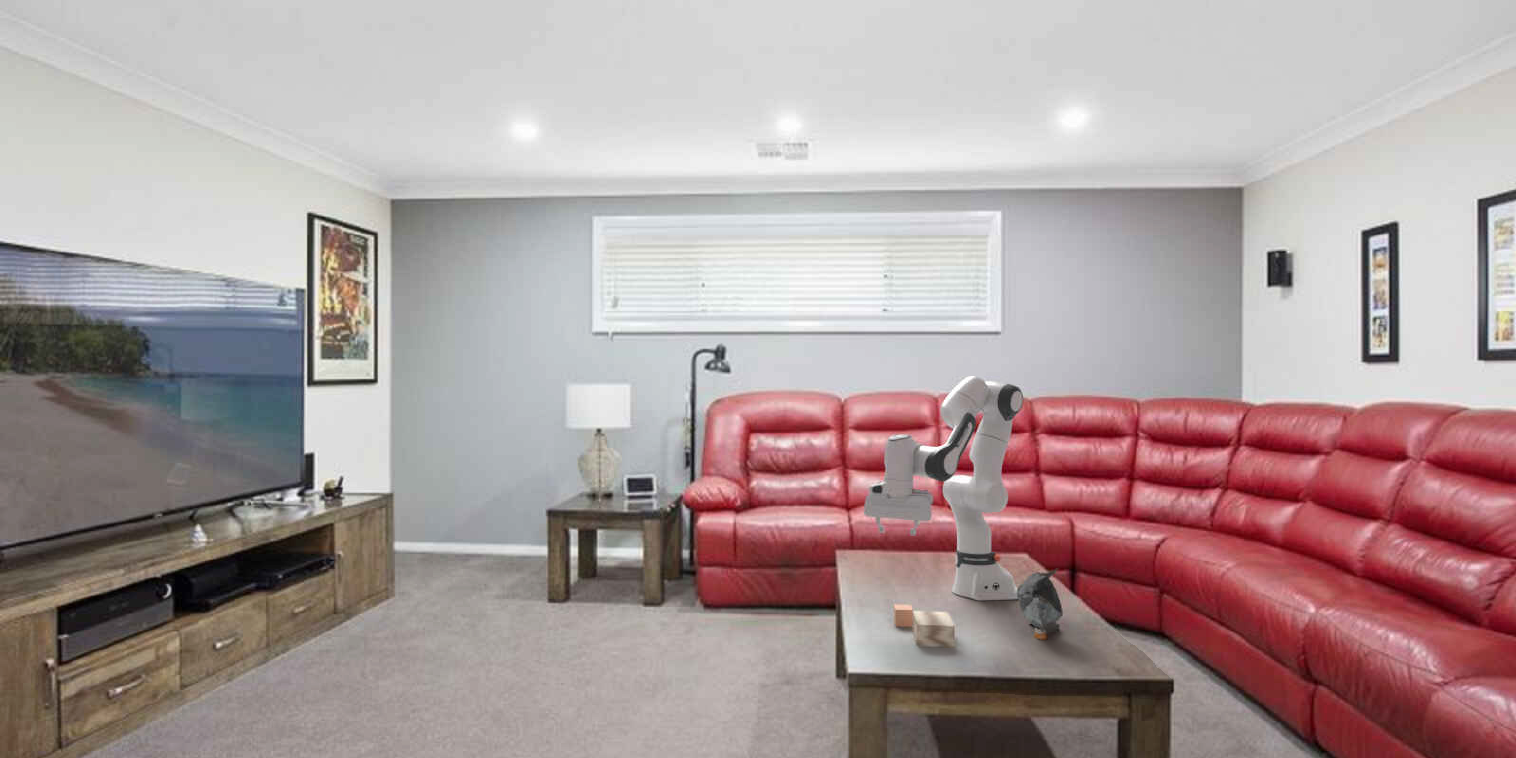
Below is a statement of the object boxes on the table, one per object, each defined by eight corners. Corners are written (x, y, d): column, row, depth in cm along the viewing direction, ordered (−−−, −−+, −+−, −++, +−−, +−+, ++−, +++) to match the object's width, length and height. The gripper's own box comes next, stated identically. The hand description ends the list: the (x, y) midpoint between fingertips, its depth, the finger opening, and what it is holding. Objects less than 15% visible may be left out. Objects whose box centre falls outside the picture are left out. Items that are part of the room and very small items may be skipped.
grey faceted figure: (1003, 633, 218) (1003, 570, 217) (1033, 622, 227) (1034, 562, 227) (1048, 647, 206) (1048, 581, 206) (1078, 635, 216) (1079, 572, 215)
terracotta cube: (910, 621, 228) (910, 604, 228) (912, 627, 223) (912, 610, 223) (893, 621, 229) (893, 604, 229) (895, 626, 224) (895, 609, 224)
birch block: (948, 632, 219) (948, 612, 219) (954, 648, 207) (954, 626, 207) (912, 631, 220) (912, 610, 220) (917, 646, 208) (917, 624, 208)
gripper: (934, 489, 232) (932, 534, 232) (867, 484, 238) (865, 528, 238) (932, 491, 226) (931, 538, 226) (863, 487, 232) (862, 532, 232)
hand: (897, 533), depth 232 cm, fingers open, 8 cm apart
